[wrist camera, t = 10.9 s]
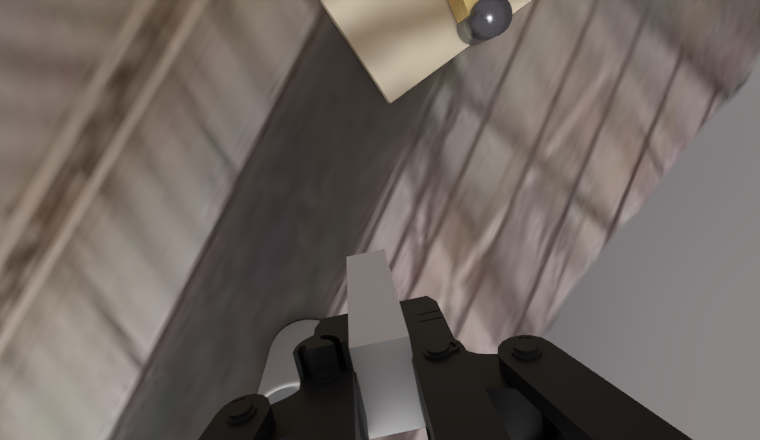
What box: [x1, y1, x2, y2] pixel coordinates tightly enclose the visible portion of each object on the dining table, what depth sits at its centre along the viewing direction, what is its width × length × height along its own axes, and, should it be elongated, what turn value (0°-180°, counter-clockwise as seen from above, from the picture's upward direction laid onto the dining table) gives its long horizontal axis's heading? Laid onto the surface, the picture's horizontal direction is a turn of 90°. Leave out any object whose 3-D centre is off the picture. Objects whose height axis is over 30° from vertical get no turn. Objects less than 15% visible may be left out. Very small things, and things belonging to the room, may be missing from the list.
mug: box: [257, 319, 320, 405], centre depth 42 cm, size 12×8×11 cm
